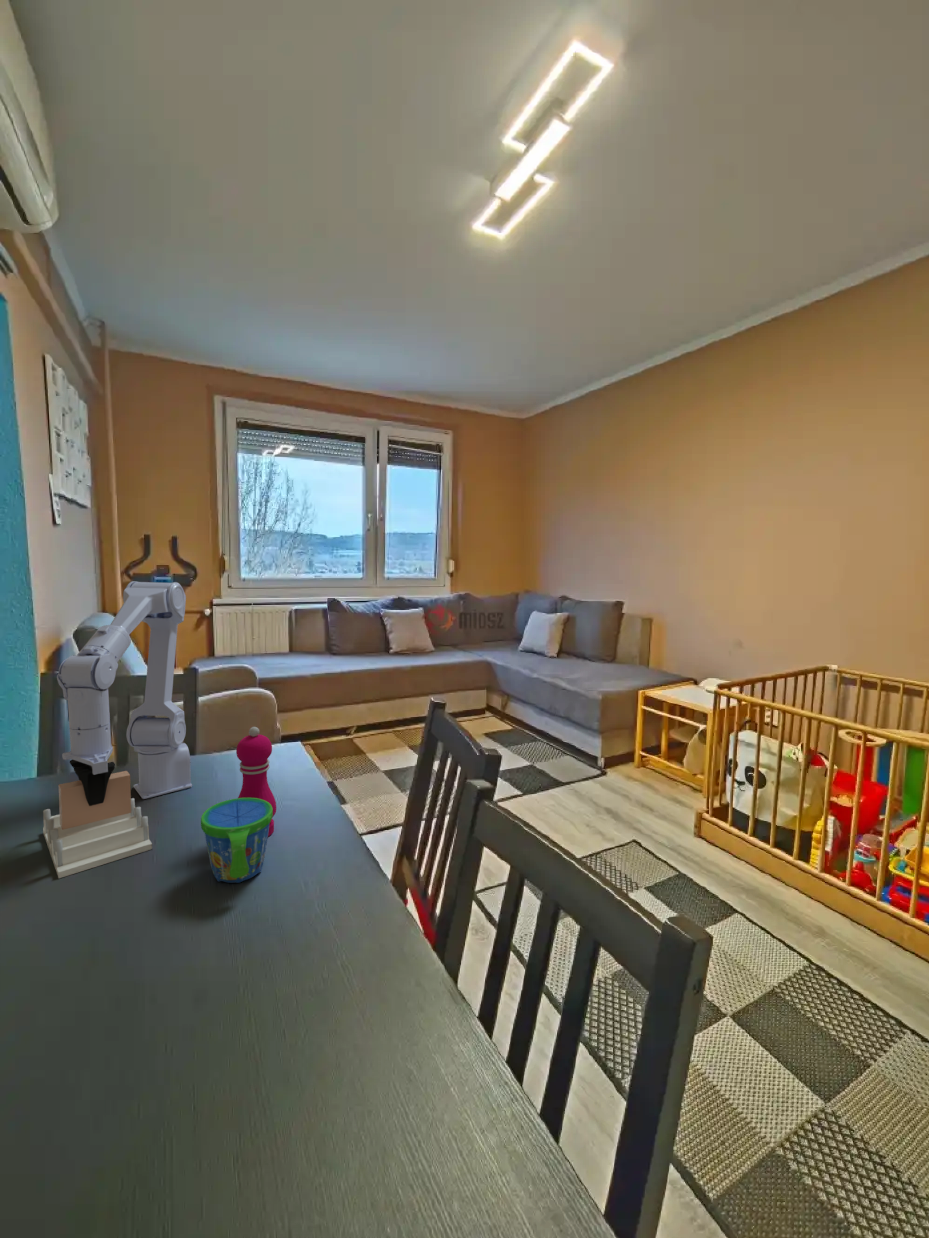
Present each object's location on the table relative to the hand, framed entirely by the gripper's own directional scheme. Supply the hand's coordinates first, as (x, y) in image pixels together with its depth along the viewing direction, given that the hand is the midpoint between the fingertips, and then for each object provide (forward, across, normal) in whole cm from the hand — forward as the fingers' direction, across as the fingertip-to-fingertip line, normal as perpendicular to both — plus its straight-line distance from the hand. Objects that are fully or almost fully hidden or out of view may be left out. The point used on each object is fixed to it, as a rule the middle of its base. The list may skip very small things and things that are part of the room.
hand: (94, 800), depth 95 cm
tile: (+3, 0, 0) cm, 3 cm away
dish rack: (+7, 0, 0) cm, 7 cm away
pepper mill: (+8, +15, +22) cm, 28 cm away
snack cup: (+8, +25, +15) cm, 30 cm away
